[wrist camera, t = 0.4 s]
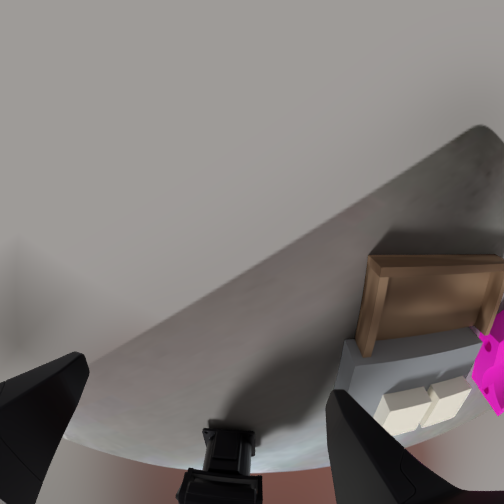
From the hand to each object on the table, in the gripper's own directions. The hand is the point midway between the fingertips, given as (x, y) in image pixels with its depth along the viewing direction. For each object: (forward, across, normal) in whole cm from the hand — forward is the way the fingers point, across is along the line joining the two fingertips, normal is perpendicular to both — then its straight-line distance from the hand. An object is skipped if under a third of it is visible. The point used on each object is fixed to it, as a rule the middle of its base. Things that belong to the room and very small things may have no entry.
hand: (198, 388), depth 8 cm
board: (+15, -19, +13) cm, 28 cm away
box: (+15, -20, +2) cm, 25 cm away
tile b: (+11, -18, +14) cm, 25 cm away
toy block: (+15, -36, +12) cm, 41 cm away
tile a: (+11, -24, +14) cm, 29 cm away
